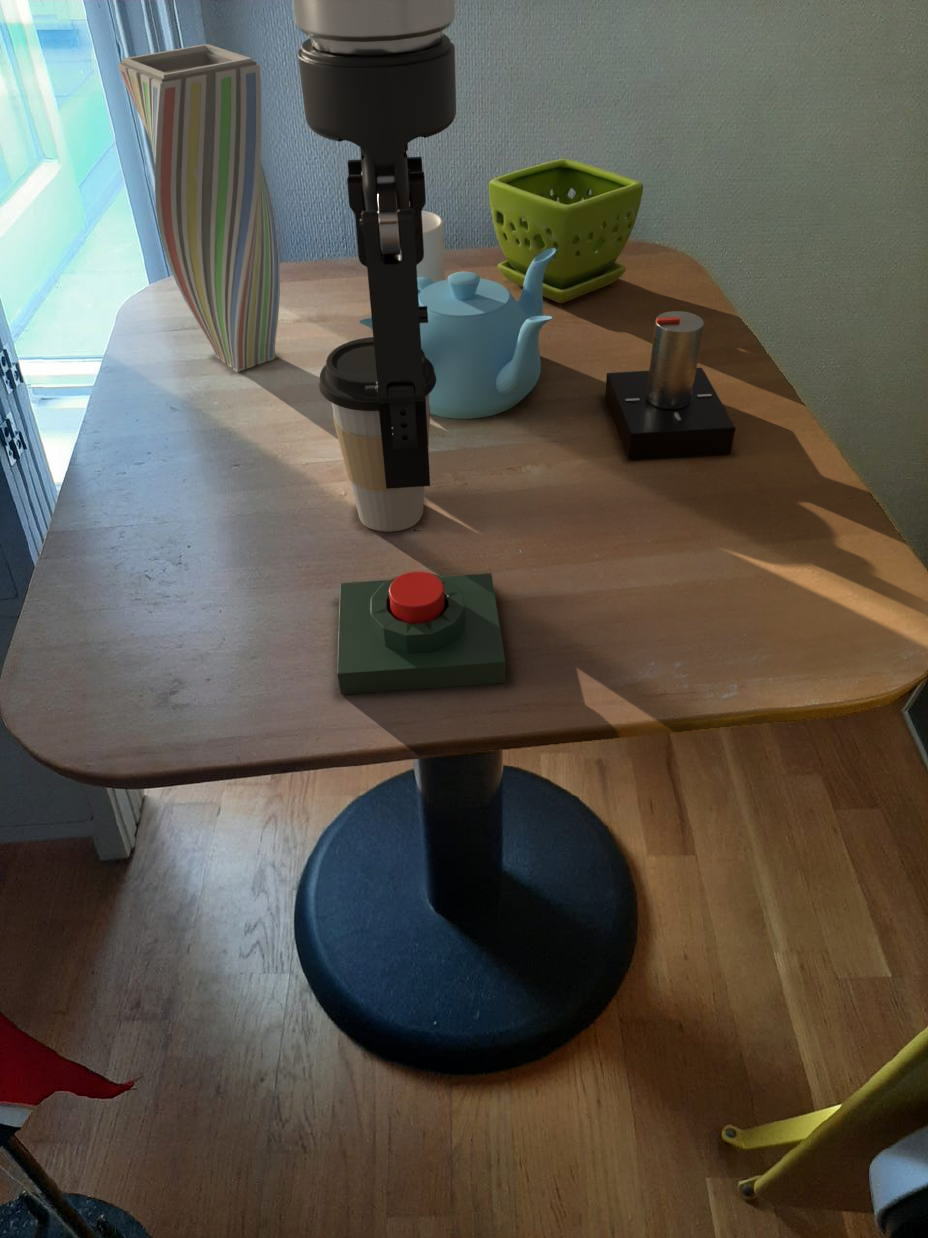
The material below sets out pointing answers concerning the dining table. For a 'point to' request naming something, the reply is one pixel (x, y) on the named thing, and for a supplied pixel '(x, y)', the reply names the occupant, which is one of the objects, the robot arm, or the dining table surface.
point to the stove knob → (674, 359)
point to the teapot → (481, 341)
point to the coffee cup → (368, 436)
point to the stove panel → (667, 420)
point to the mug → (432, 248)
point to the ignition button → (416, 597)
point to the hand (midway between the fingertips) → (406, 451)
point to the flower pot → (564, 224)
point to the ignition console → (419, 639)
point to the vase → (213, 193)
